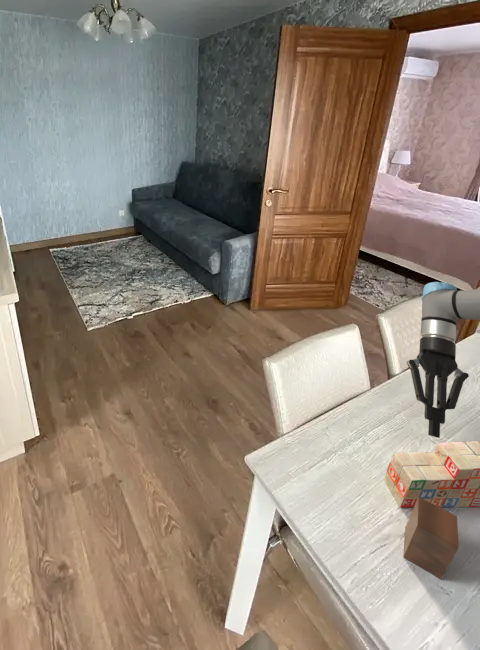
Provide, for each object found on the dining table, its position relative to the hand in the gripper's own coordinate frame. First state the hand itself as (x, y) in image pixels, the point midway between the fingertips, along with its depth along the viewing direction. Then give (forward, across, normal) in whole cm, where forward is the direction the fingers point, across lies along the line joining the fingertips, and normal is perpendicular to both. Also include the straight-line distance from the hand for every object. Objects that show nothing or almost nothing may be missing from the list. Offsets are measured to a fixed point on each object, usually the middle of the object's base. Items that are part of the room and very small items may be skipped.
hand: (433, 436), depth 83 cm
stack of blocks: (+12, 0, +2) cm, 12 cm away
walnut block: (+22, +5, +13) cm, 26 cm away
